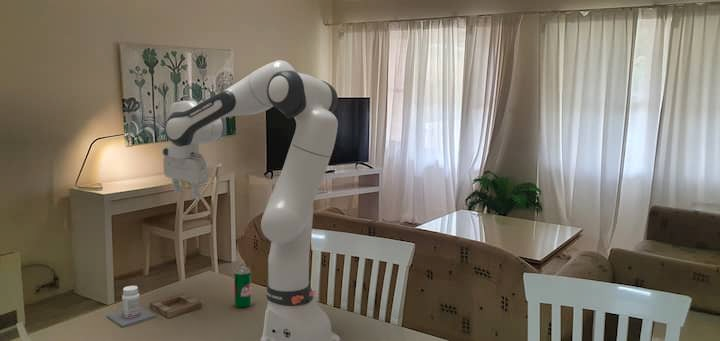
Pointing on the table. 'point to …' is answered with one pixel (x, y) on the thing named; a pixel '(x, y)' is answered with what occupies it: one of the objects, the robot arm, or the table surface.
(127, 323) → the grey mat
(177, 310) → the frame
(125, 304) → the pill bottle
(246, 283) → the soda can
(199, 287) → the table surface
